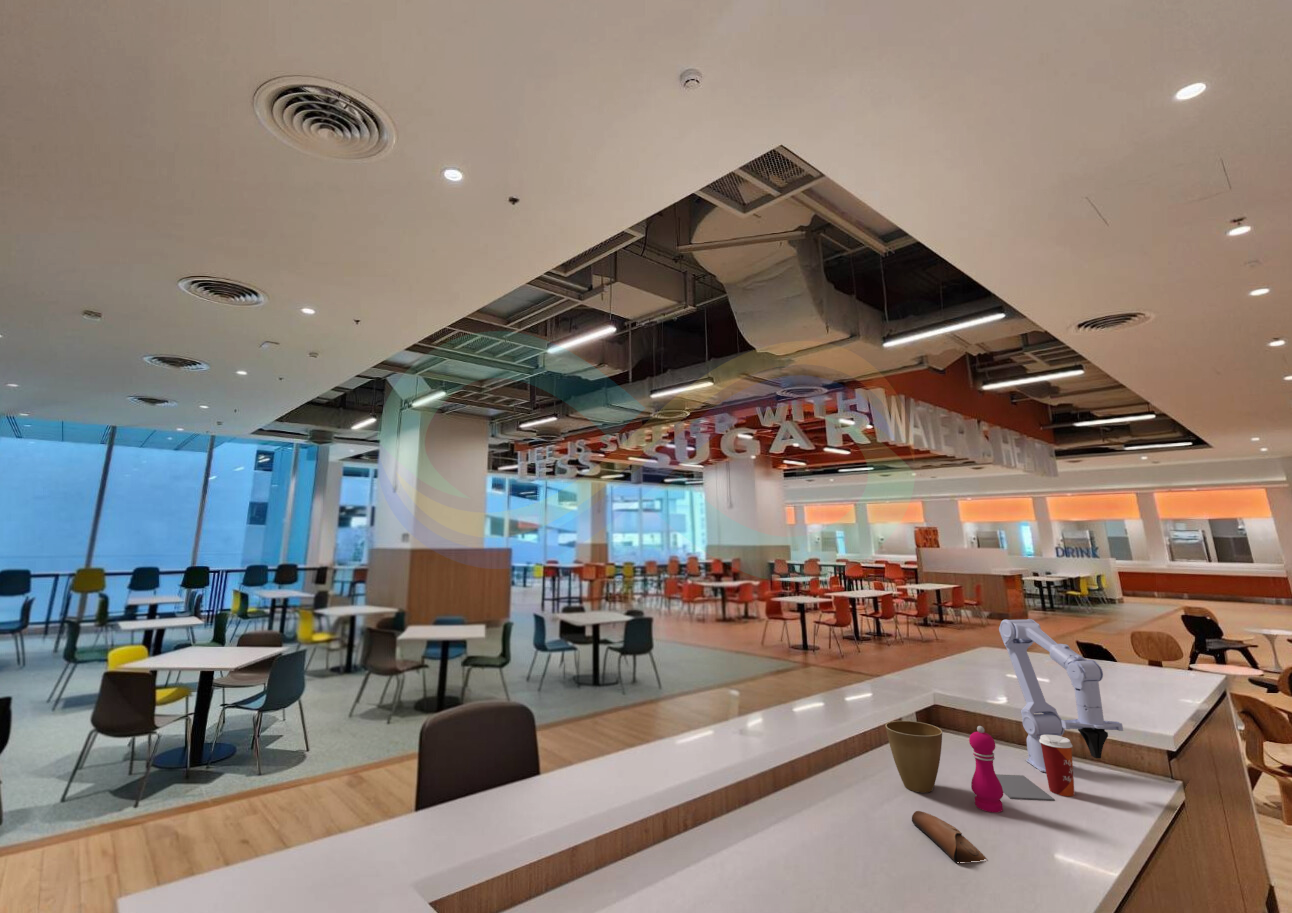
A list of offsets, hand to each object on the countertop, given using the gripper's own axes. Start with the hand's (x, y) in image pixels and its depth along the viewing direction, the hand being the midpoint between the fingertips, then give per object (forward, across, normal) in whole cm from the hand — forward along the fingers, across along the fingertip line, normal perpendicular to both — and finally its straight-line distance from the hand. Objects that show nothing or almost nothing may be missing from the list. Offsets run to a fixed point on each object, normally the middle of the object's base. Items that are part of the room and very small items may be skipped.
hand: (1096, 757), depth 154 cm
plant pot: (+10, -48, -1) cm, 49 cm away
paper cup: (+10, -10, 0) cm, 14 cm away
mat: (+9, -20, +2) cm, 23 cm away
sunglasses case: (+10, -51, -31) cm, 61 cm away
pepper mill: (+10, -34, -12) cm, 37 cm away
